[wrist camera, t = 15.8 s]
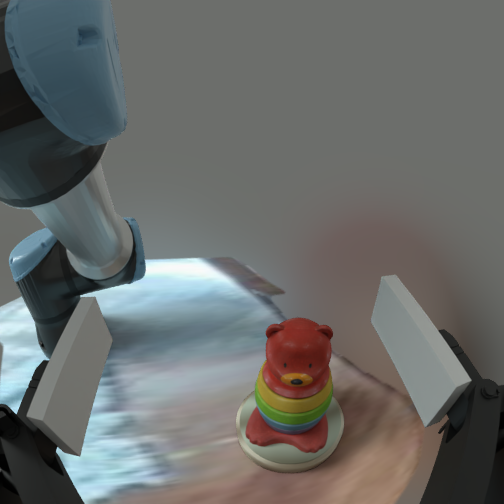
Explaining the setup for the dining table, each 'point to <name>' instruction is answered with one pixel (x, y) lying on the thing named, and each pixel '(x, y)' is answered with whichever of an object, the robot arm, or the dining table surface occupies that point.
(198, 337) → the dining table surface
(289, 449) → the stand
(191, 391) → the dining table surface
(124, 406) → the dining table surface
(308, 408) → the stacking bear
